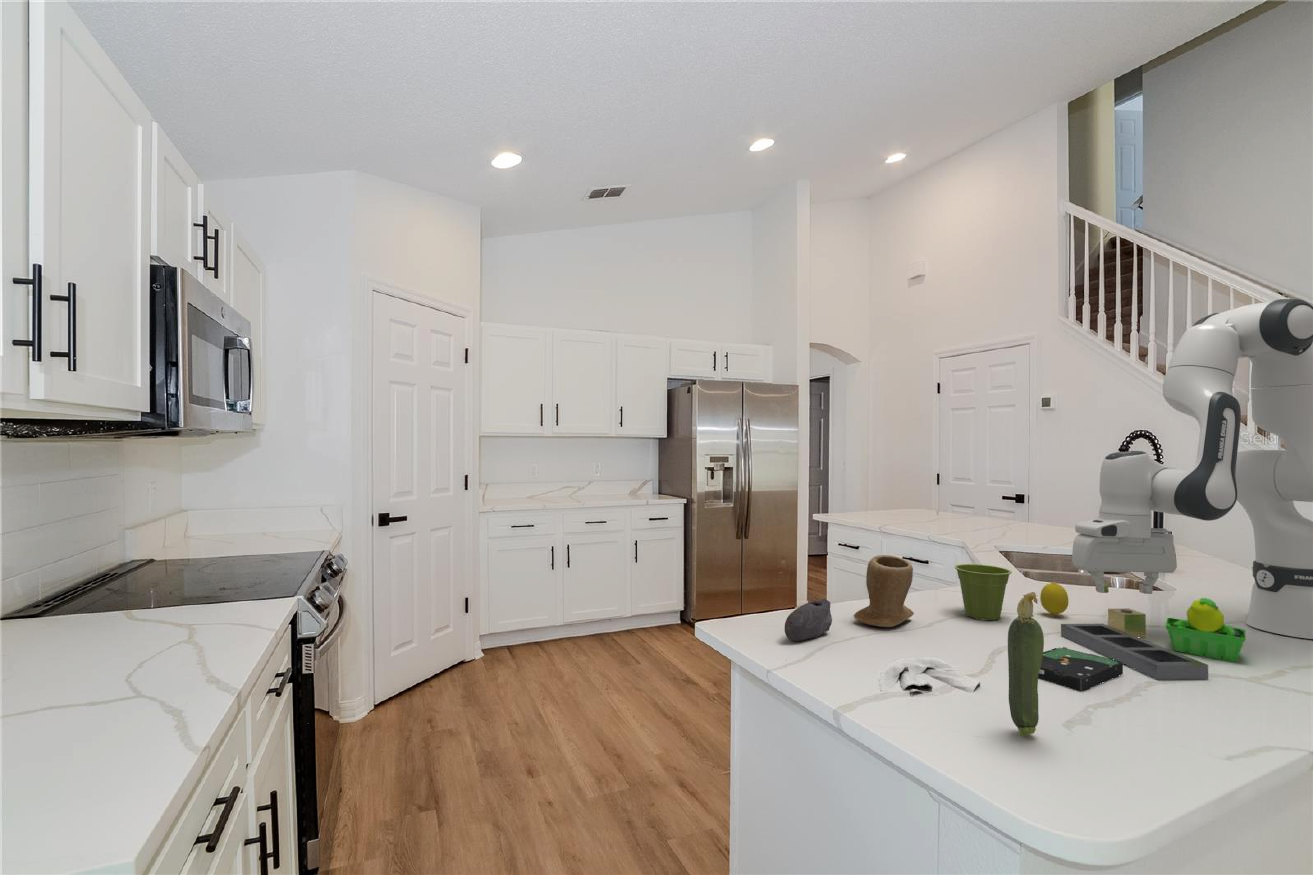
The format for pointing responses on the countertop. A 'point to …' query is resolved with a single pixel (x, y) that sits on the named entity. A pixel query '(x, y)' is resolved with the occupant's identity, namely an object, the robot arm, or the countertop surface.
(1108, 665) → the disk drive
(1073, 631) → the rail
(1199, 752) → the countertop surface
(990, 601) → the plant pot
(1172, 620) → the fruit basket
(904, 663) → the cloth
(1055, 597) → the lemon
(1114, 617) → the nut
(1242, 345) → the robot arm
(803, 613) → the perforated stone tool
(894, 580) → the stone cup
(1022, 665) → the vegetable
